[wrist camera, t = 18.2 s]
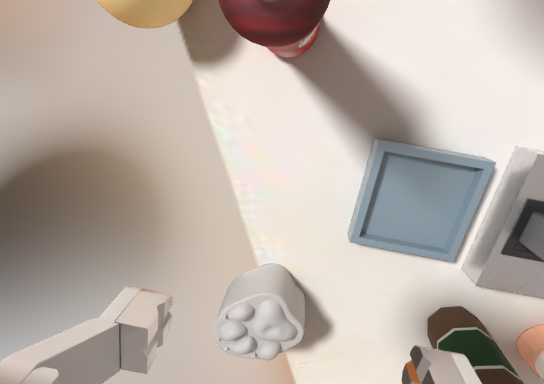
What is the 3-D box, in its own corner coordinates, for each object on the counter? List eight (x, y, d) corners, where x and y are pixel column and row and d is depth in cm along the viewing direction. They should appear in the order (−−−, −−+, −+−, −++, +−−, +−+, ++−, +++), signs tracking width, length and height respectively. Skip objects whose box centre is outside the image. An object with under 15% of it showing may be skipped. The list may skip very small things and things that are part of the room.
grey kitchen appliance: (515, 146, 39) (543, 155, 34) (599, 161, 39) (637, 172, 34) (461, 268, 45) (478, 289, 41) (532, 281, 45) (557, 304, 41)
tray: (374, 137, 40) (378, 141, 38) (484, 157, 40) (496, 162, 37) (347, 233, 45) (349, 242, 43) (445, 252, 45) (453, 262, 42)
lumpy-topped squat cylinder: (312, 306, 51) (313, 350, 42) (245, 333, 54) (234, 379, 46) (278, 256, 48) (273, 292, 40) (210, 288, 51) (192, 328, 43)
